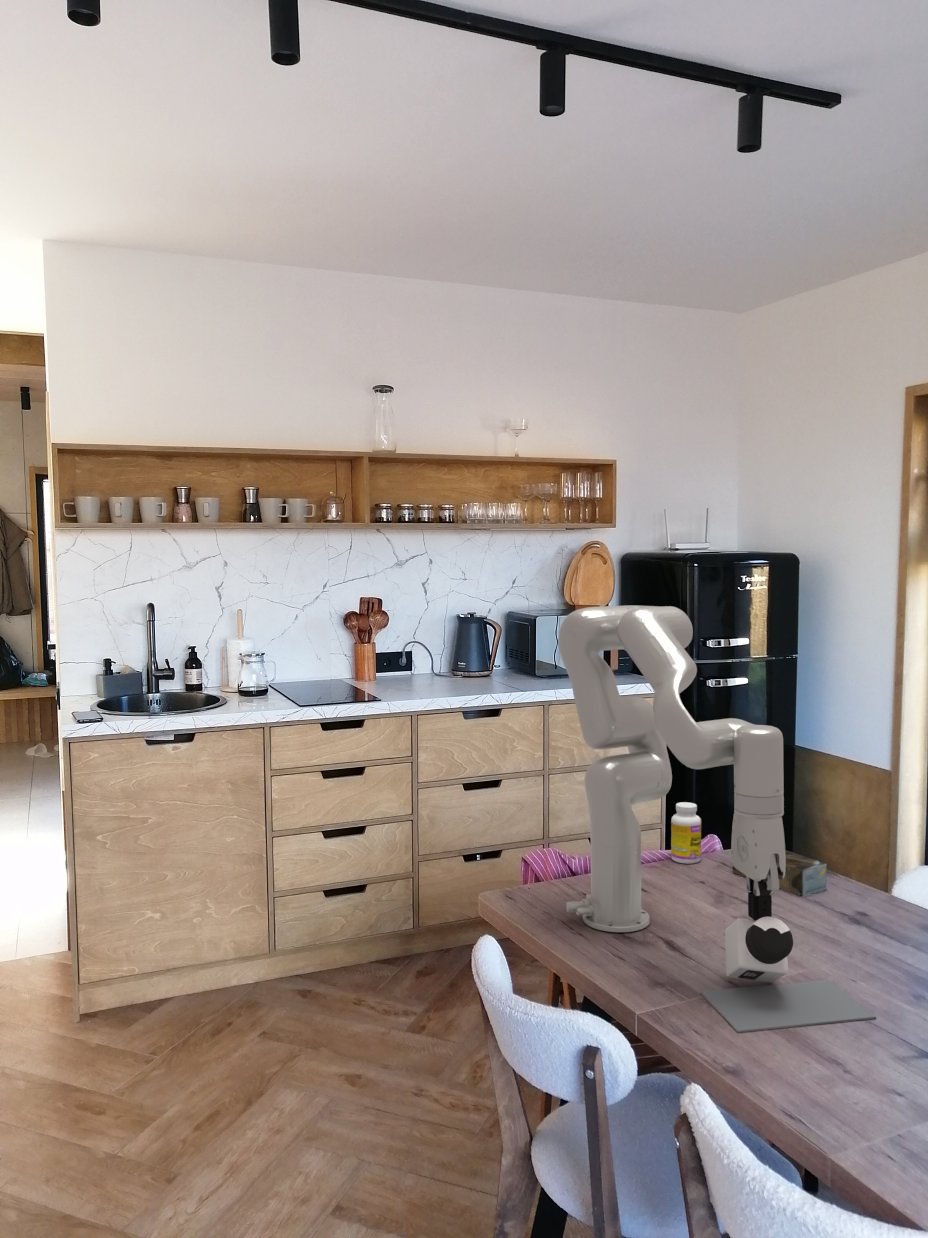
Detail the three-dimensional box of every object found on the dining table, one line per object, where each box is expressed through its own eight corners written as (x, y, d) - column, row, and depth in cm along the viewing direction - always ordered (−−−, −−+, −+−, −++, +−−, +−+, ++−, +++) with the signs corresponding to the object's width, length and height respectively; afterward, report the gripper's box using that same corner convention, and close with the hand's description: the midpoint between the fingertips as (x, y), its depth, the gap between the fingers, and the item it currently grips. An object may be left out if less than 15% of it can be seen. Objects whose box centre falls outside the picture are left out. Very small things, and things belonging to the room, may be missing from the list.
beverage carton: (802, 899, 194) (802, 867, 194) (729, 874, 210) (729, 844, 210) (828, 891, 198) (828, 860, 198) (754, 867, 215) (754, 838, 214)
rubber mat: (737, 1033, 139) (737, 1031, 139) (700, 993, 152) (700, 991, 152) (876, 1019, 143) (876, 1017, 143) (828, 981, 155) (828, 979, 155)
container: (773, 983, 155) (800, 966, 144) (725, 977, 155) (748, 960, 144) (770, 935, 159) (797, 914, 148) (724, 929, 159) (747, 908, 148)
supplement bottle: (691, 866, 215) (691, 810, 214) (665, 860, 219) (665, 805, 218) (706, 859, 220) (706, 804, 219) (680, 854, 224) (680, 799, 223)
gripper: (716, 795, 159) (717, 904, 160) (758, 816, 144) (760, 937, 145) (758, 792, 160) (759, 900, 161) (805, 813, 146) (806, 932, 146)
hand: (759, 917), depth 153 cm, fingers closed
